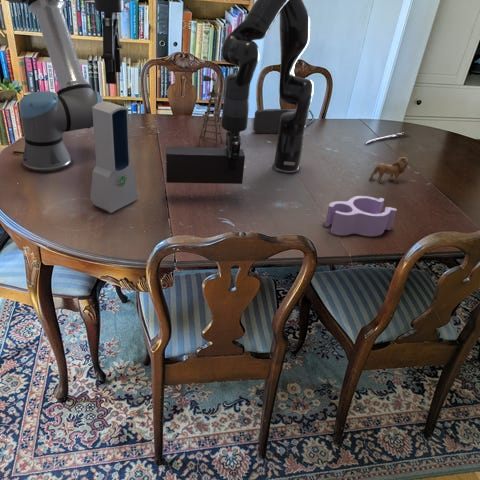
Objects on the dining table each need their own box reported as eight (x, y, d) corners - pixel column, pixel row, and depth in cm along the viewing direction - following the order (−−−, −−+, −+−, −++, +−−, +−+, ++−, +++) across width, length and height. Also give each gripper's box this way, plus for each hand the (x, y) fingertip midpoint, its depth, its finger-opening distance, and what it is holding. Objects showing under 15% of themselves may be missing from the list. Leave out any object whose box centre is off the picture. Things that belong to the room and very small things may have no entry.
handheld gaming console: (299, 130, 212) (303, 108, 207) (302, 132, 210) (305, 110, 205) (252, 131, 205) (254, 109, 200) (254, 133, 203) (257, 111, 198)
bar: (166, 182, 142) (166, 153, 136) (166, 175, 146) (166, 146, 141) (242, 184, 145) (245, 155, 140) (240, 176, 150) (242, 148, 145)
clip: (337, 240, 135) (342, 219, 131) (318, 218, 145) (322, 198, 141) (395, 233, 141) (402, 213, 137) (373, 213, 151) (378, 194, 147)
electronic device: (108, 214, 135) (101, 113, 119) (90, 206, 138) (81, 106, 122) (138, 199, 144) (135, 103, 128) (120, 191, 147) (115, 96, 131)
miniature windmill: (217, 149, 184) (223, 71, 168) (196, 146, 185) (200, 68, 169) (222, 142, 191) (228, 66, 175) (203, 138, 192) (206, 63, 176)
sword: (404, 132, 223) (404, 129, 222) (409, 134, 221) (409, 132, 220) (360, 143, 207) (361, 141, 206) (365, 146, 205) (366, 143, 204)
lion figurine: (397, 176, 178) (404, 154, 173) (406, 182, 174) (413, 159, 169) (364, 178, 173) (370, 156, 168) (373, 185, 169) (379, 162, 164)
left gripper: (118, 0, 113) (123, 89, 124) (126, -9, 134) (130, 68, 145) (86, -2, 112) (94, 88, 123) (100, -11, 133) (105, 67, 144)
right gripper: (252, 121, 130) (246, 176, 139) (244, 104, 142) (239, 156, 151) (225, 120, 129) (221, 175, 138) (220, 103, 140) (216, 156, 150)
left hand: (113, 77), depth 134 cm, fingers open, 13 cm apart
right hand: (230, 165), depth 144 cm, fingers closed on bar, 5 cm apart
